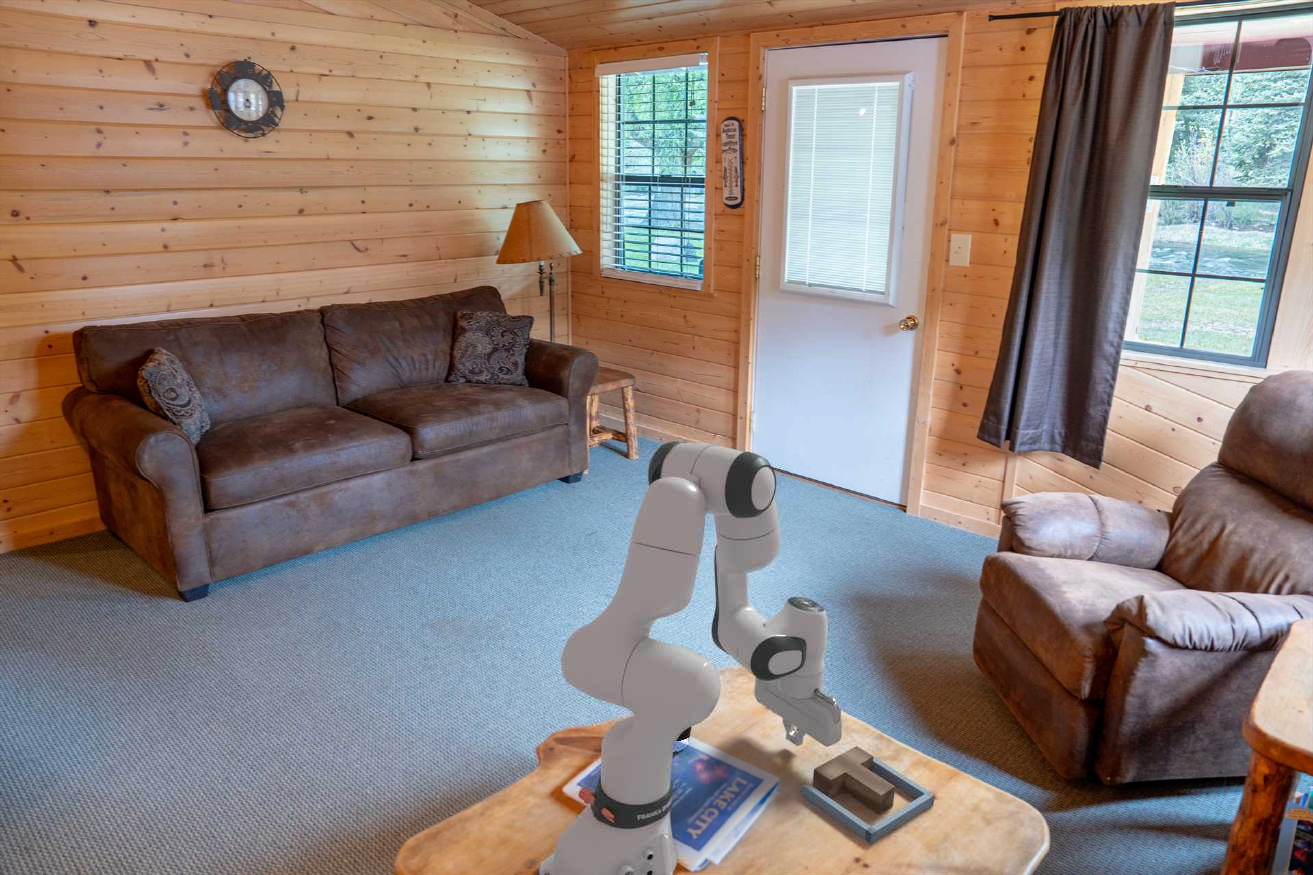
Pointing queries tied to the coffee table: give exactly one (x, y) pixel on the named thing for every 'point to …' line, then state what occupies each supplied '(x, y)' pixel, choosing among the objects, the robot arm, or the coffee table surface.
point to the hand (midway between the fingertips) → (794, 741)
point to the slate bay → (889, 823)
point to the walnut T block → (854, 780)
